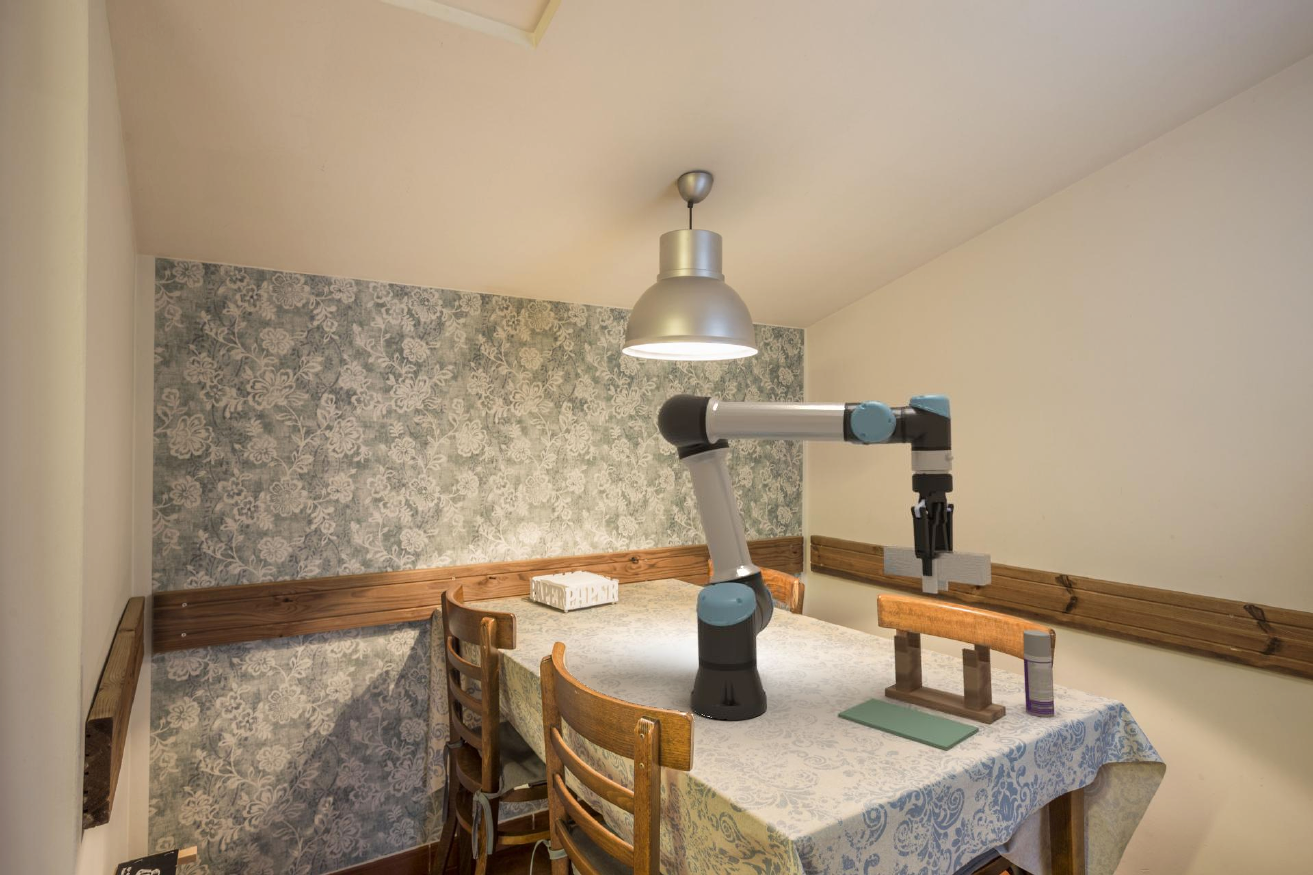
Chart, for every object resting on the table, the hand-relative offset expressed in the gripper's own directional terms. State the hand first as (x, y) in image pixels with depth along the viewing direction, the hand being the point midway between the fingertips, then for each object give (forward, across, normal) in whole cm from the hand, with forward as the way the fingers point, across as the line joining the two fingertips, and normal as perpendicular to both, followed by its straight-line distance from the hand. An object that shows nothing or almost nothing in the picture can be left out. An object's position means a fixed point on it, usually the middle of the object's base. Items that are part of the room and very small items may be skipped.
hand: (935, 590), depth 133 cm
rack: (+22, +1, 0) cm, 22 cm away
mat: (+22, -13, 0) cm, 26 cm away
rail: (-3, 0, 0) cm, 3 cm away
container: (+22, +10, -15) cm, 29 cm away
